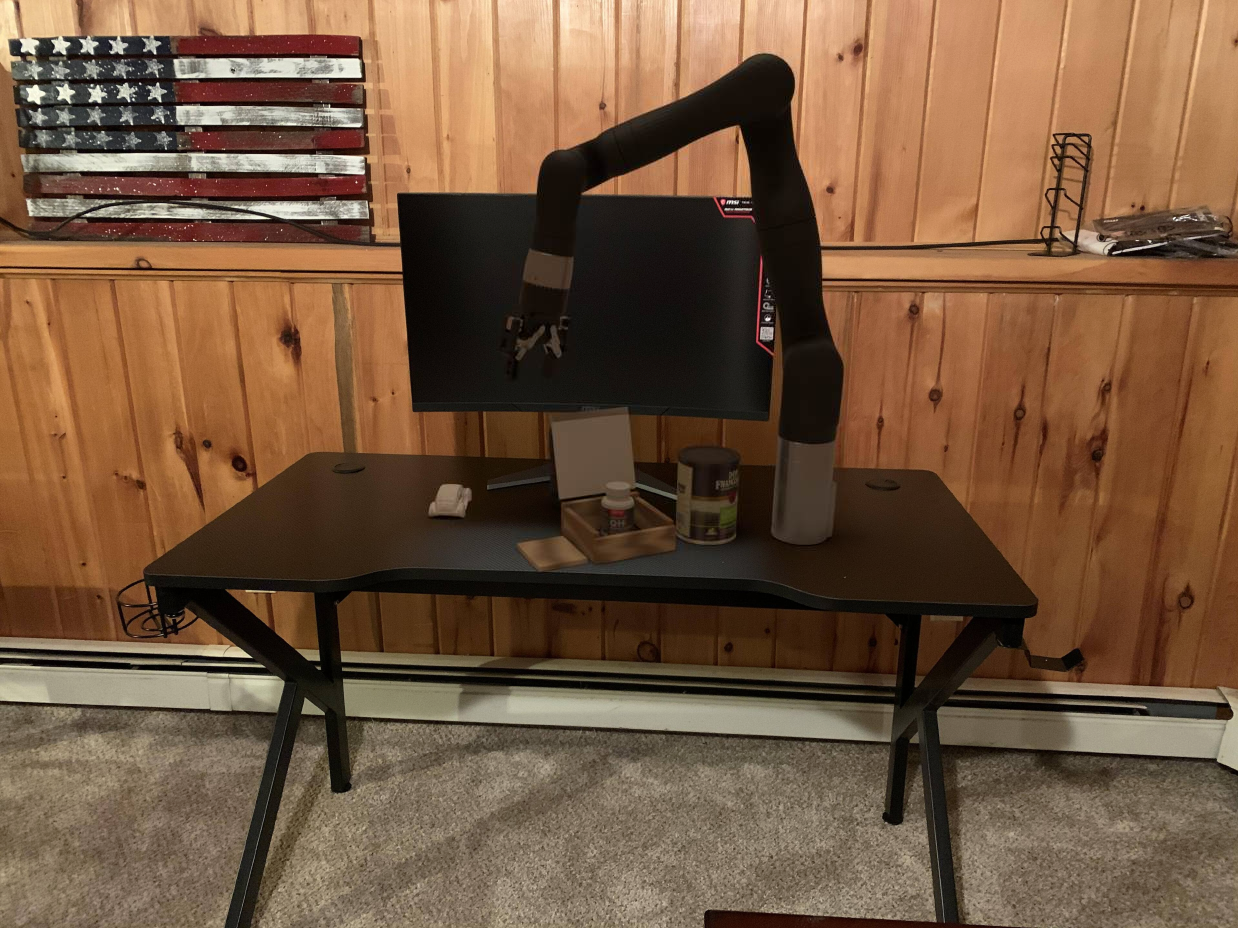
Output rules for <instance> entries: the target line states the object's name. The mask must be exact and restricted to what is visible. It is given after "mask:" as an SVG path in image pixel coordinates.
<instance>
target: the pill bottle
mask: <svg viewBox="0 0 1238 928" xmlns="http://www.w3.org/2000/svg"><path fill="white" fill-rule="evenodd" d="M631 490H632V489H631V486H630V484H628V483H625V482H610V483H608V484H606V491H605V492H606V493H605V495H604V496H605V497H604V498H603V499H602V501H601V529H600V537H604V536H609V535H615V534H621V533H627V532H633V531H635V524H634V500H633V498H632V497H630V496H629V495H630V492H632V491H631Z"/></svg>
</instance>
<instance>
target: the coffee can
mask: <svg viewBox="0 0 1238 928" xmlns="http://www.w3.org/2000/svg"><path fill="white" fill-rule="evenodd" d="M741 458H742V454H741V453H740V452H739V451H737V450H735V449H732V448H730V447H725V446H721V445H720V446H719V445H706V444H705V445H703V444H702V445H692V446H687V447H683V448H680V450H678V452H677V480H676V481H677V485H676V487H677V488H676V508H675V509H676V510H675V511H676V512H675V526H676V538H677V537H678V539H680V540H682V541H684V542H687V543H691V544H694V545H700V546H718V545H724V544H727V543H730V542H732V541H733V540H735V539H736V536H737V517H738V500H739V496H738V495H739V482H740V466H741V464H740V463H741Z"/></svg>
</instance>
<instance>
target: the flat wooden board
mask: <svg viewBox="0 0 1238 928" xmlns="http://www.w3.org/2000/svg"><path fill="white" fill-rule="evenodd" d="M515 547H516V550H518V551H519V552H520V554H521V555H522V556H523V557H524V558H525V559H526V560H527V561H528V562H529V563H530V564H531V565H532V566H533V567H534V568H535V569H536V571H537V572H539V573H541V572H542V573H543V572H546V571H551V570H552V571H553V570H557V569H558V570H559V569H563V568H568V567H575V566H579V565H584V564H585V565H586V564H588V561H589V559H588V557H587V556H586V555H585V554H584V553H583V552H582V551H581V550H580V549H578V548H577V547H576V546H575V545H574V544H573V543H572V542H571V541H570V540H568V539H567V538H566V537H565V536H564V535H558V536H554V537H547V538H542V539H536V540H531V541H523V542H518V543H516V546H515Z"/></svg>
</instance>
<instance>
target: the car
mask: <svg viewBox="0 0 1238 928" xmlns="http://www.w3.org/2000/svg"><path fill="white" fill-rule="evenodd" d="M471 501H472V490H471V489H470V487H466V488H465V487H464V486H463V485H462V484H456V483H455V484H452V483H449V484H447V483H446V484H443V483H442V485H440V487H439V489H438V492H437V494H436V496H435V499H434V501H432V502H431V503H430V505H429V508H428V517H435V516H437V517H439V516H452V517H459V518H464V517H465V516H466V511H467V506H468V503H469V502H471Z"/></svg>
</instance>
